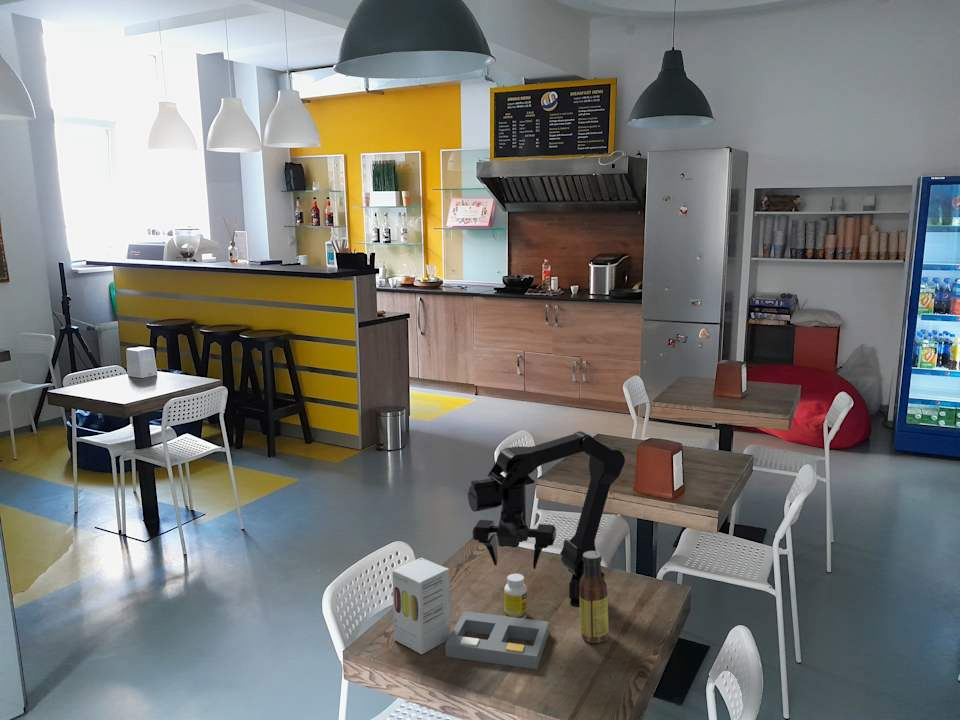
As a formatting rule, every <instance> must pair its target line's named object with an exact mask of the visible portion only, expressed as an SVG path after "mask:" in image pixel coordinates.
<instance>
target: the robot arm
mask: <svg viewBox="0 0 960 720" xmlns="http://www.w3.org/2000/svg"><path fill="white" fill-rule="evenodd" d="M580 453H585V455H588V457H589V461H588V462H589V463H588V469H589V476H590V481H589V485H588V487H587V491H586V495H585V499H584V502H583V505H582V508H581V509H582V510H581V513H580V516H579V520H578V522H577V527H576V531H575V534H574V535H573V536H572V537H571V538H570V539H567V538H564V541H563V544H562V545H563V546H562V549H561V551H560V553H559V555H561V559H560V560H561V562H562V564H563V566H564V567H566V568H567V571H568V572H569V573H571V574H572V575H571V578H570V581H569V590H568V591H569V593H568V595H569V596H568V597H569V599H570V602H569V604H570V606H571V605H573V606H579V607H580V600H579V593H580V588H579V581H580V579H581V577H582V575H583V574H584V561H583V554H584V553H585V552H587V551H596V552H597V548H596V537H597V535H598V531H599V527H600V524H601V521H602V520H601V519H602V517H603V513H604V511H605V506H606V504H607V503H606V502H607V499H608V496H609V492H610V489H611V486H612V484H613V483H614V482H615V481H616V480H617V479H618V478H619V477H620V475H621V473H622V472H623V471H622V470H623V469H624V466H625V462H626V457H625V456H624V454H623V452H622V451H621V450H619V449H617V448H615V447H612V446H611V445H609V444H606V443H604V442H603V443H602V442H599V441H598V440H596V439H595V438H594V437H593V436H591V435H590V434H588V433H586V432H584V431H582V430H581V431H579V430H578V431H576V432H574V433H572V434H570V435H566V436H562V437H560V438H556V439H553V440H550V441H546V442H542V443H540V444H535V445H533V446H519V445H518V446H511V447H510V446H509V447H505V448H504V449H501V450H500V452H499V453H498V455H497V458H496V461H495V463H494V464H493V466H492V468H491V469H490V471H489V473H488V474H487V477H489V478H487V479H486V478H484V479H480V480H478V479H475V480H471V481H470V483H471V485H470V486H469V487H468V488H469V489H468V492H467V499H468V500H467V501H468V505H469V507H470V509H471V511H472V512H474V513H475V512H481V511H485V510H491V509H497V508H499V506H501V509H500V510H501V511H500V519H499V522H498V526H497V525H495V521H494V520H492V519H491V520H487V519H479V520H478V521H477V522H476V523H475V525H474V527H473V529H472V539H473V540H474V541H478V543H479V544H483V545H484V546H485V548H486V549H487V551H488V552H489V555H490V558H491V561H492V562H493V565H494V566H498V562H499V561H498V560H499V557H498V546H499V547H502V548H503V547H511V548H514V549H515V548H517V547H519V546H520V543H523V542H527V541H528V539H529V538H535V539H534V541H535V543H534V546H533V547H534V551H533V561H532V562H533V563H532V564H533V565H532V566H533V568H532V569H533V570H536V568H537V566H538V561H539V559H540V555H541V552H542V551H543V549H547V548H548V546H550V547H551V546H553V545H554V543H555V540H556V537H557V528H556V526H555V525H554V524H543V523H539V524H538V526H537V528H529V526H528V525H527V524H528V523H527V522H528V520H527V496H526V495H527V486H528V485H533V484H535V480H534V479H533V478H531V477H530V475H531V474H532V473H534V472H535V471H536V469H538V468H539V467H541V466H542V465H543V466H544V465H545V464H548V463H551V462H554V461H558V460H562V459H565V458H567V457H570V456H574V455H576V454H580ZM502 473H504V474H506V475H505V476H504V475H503V474H502ZM601 574H602V576H603V578H605V573H604V572H603V571H601Z"/></svg>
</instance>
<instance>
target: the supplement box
mask: <svg viewBox="0 0 960 720" xmlns="http://www.w3.org/2000/svg"><path fill="white" fill-rule="evenodd" d="M391 573H392V574H391V575H392V603H393V605H392V607H393V634H394V635H393V638H394V641H397V642H398V643H400V644H401V645H403V646H406V647H407V648H409V649H411V650H413V651H415V652H416V653H418V654H420V655H423V654H425V653H427V652H429V651H430V650H432V649H434V648H436V647H438V646H439V645H441V644H442V643H446V642H447V640H448V638H449V636H450V635H451V633H452V631H451V599H450V598H451V596H450V595H451V593H450V592H451V590H450V589H451V587H450V586H451V585H450V584H451V582H450V577H451V576H450V568H448V567H446V566H443V565H440V564H437V563H435V562H433V561H431V560H428V559H426V558H424V557H420V558H417V559H415V560H413V561H410V562H408V563H406V564H403V565H401V566H399V567H395V568H394V569H393V570H392V572H391Z"/></svg>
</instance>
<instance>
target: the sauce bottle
mask: <svg viewBox="0 0 960 720" xmlns="http://www.w3.org/2000/svg"><path fill="white" fill-rule="evenodd" d="M583 561H584V574H583V575H582V577H581V579H580V581H579V588H580V593H579V600H580V606H579V621H580V622H579V623H580V624H579V626H580V634H581V637H582V639H583V640H584V641H585V642H588V643H591V644H602V643H604V642H606V641H607V640H608V637H609V631H610V630H609V604H608V603H609V602H608V601H609V599H608V596H609V595H608V588H607V587H608V586H607V583H606V581H605V579H604V578H605V577H604V578H603V576H602V574H601V572H602V566H601V565H602V554H601V553H600V552H599V551H597V550H596V551H587V552H585V553H584V554H583Z"/></svg>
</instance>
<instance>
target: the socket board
mask: <svg viewBox="0 0 960 720" xmlns="http://www.w3.org/2000/svg"><path fill="white" fill-rule="evenodd" d="M549 627H550V622H549V621H547V620H537V619H531V618H530V619H529V618H525V619H523V618H515V617H507V616H505V615H498V614H490V613H484V612H474V611H467V610H464V611H463V612H462V614H461V615H460V618H459V619H458V621H457V623H456V624H455V626H454V628H453V630H452V631H451V635H450V636H449V638H448V640H446V641H445V642H444V643H445V645H444V646H445V657H447V658H454V659H461V660H462V659H463V660H466V661H468V660H469V661H475V662H481V663H489V664H497V665H504V666H509V667H515V668H516V667H517V668H524V669H531V670H538V667H539V665H540V661H541V659H542V655H543V652H544V649H545V647H546V644H547V640H548V638H549V635H550V634H549V633H550V629H549ZM466 633H473V634H481V635H489V637H488V639H481V638H476V637H467V636H465V634H466ZM509 638H511V639H512V638H513V639H520V640H526V641H527V640H528V641H534V643H533V645H527V644H521V643H514V642H513V643H512V642H508V640H509Z"/></svg>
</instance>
